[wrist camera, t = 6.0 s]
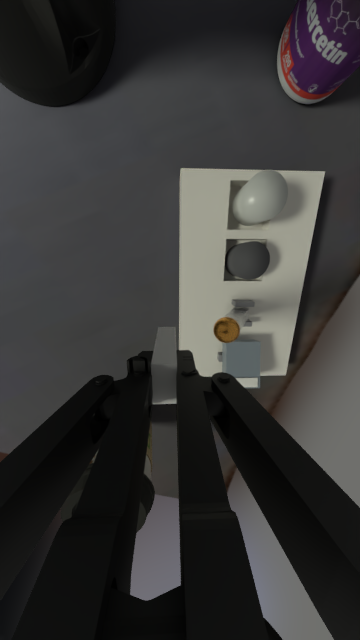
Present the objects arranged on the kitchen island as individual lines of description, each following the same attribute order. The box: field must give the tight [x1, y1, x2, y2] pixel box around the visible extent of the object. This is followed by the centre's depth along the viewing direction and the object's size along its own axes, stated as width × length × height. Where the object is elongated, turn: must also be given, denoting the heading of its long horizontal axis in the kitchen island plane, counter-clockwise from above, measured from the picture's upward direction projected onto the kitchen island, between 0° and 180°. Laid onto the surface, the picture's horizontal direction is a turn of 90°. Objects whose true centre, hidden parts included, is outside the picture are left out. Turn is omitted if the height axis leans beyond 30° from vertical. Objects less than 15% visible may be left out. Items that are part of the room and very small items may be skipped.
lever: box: [213, 307, 249, 343], centre depth 22 cm, size 3×3×9 cm
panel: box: [179, 168, 325, 377], centre depth 26 cm, size 26×16×5 cm, turn 0°
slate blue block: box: [222, 339, 261, 388], centre depth 26 cm, size 6×4×2 cm
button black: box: [225, 241, 270, 280], centre depth 24 cm, size 4×4×4 cm
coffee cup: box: [61, 423, 155, 533], centre depth 27 cm, size 10×10×15 cm
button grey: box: [232, 170, 288, 226], centre depth 21 cm, size 4×4×4 cm
